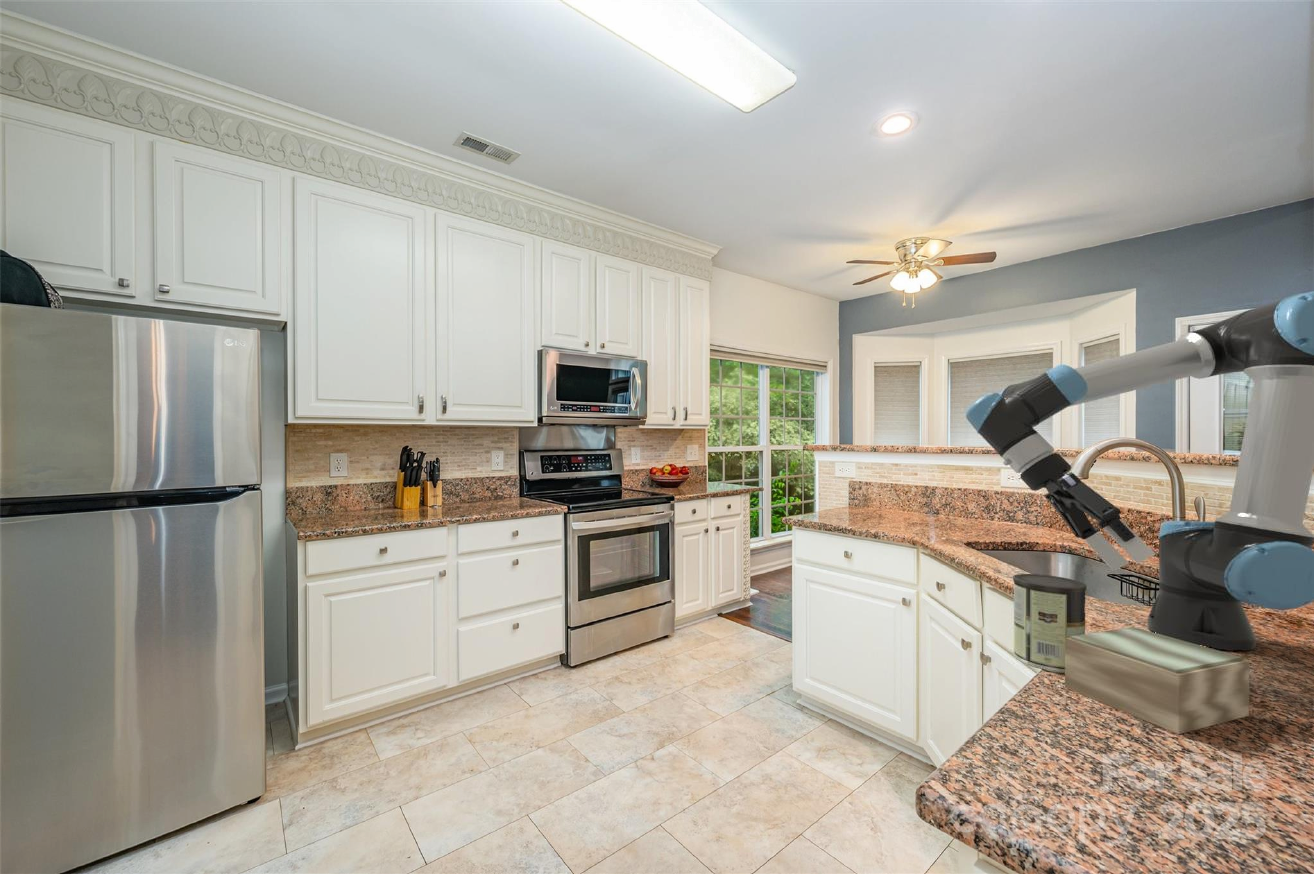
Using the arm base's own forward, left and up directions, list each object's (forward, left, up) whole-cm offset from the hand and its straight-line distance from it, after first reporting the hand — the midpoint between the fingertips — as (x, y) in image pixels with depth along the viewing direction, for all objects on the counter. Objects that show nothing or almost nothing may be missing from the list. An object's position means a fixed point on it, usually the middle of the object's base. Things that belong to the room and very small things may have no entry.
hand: (1133, 563), depth 90 cm
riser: (+9, +10, -18) cm, 22 cm away
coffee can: (+11, -5, -18) cm, 22 cm away
